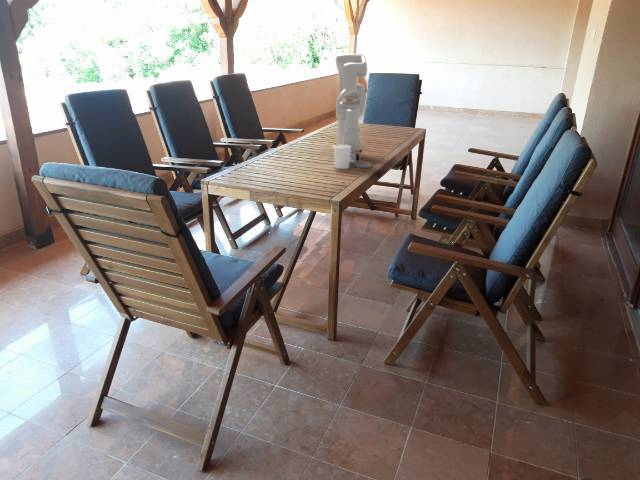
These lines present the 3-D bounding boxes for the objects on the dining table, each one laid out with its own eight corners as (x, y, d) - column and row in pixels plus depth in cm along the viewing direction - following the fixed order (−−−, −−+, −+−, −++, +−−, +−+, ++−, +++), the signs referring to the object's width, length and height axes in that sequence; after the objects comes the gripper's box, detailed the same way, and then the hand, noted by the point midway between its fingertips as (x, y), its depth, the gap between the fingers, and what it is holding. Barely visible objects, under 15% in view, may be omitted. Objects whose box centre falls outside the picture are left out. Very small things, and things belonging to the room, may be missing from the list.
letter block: (345, 161, 289) (345, 153, 287) (353, 161, 290) (353, 152, 288) (347, 163, 284) (347, 155, 282) (355, 163, 285) (356, 154, 283)
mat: (353, 163, 284) (353, 162, 283) (367, 163, 285) (367, 162, 285) (357, 167, 275) (357, 166, 274) (372, 167, 276) (372, 166, 276)
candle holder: (336, 169, 270) (336, 148, 266) (331, 165, 279) (331, 145, 274) (352, 168, 273) (353, 147, 268) (347, 164, 281) (347, 144, 277)
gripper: (364, 129, 285) (362, 159, 292) (335, 130, 282) (335, 160, 289) (367, 131, 278) (366, 162, 285) (338, 132, 275) (337, 163, 282)
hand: (350, 160), depth 287 cm, fingers open, 7 cm apart
